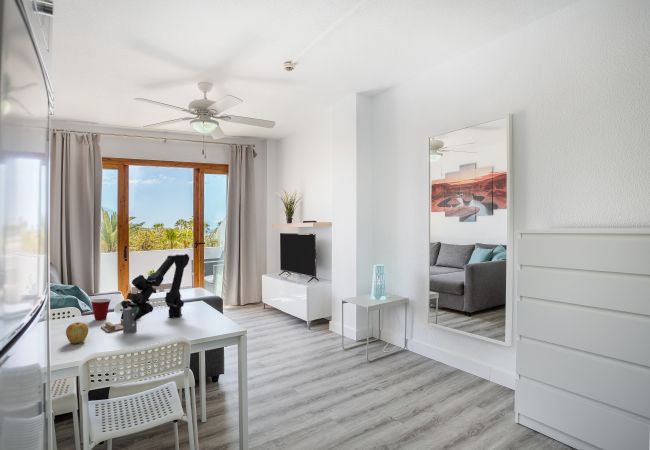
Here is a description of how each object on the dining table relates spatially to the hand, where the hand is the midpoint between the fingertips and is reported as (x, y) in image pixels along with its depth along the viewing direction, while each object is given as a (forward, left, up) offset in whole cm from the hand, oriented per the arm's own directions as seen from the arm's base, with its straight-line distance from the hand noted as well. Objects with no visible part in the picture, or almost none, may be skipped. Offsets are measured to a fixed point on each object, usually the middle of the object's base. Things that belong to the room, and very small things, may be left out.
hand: (127, 319), depth 199 cm
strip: (0, -1, -7) cm, 7 cm away
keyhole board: (+10, -9, -7) cm, 15 cm away
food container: (+10, -31, -7) cm, 33 cm away
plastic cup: (+29, -28, -7) cm, 41 cm away
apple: (+18, +15, -7) cm, 24 cm away
